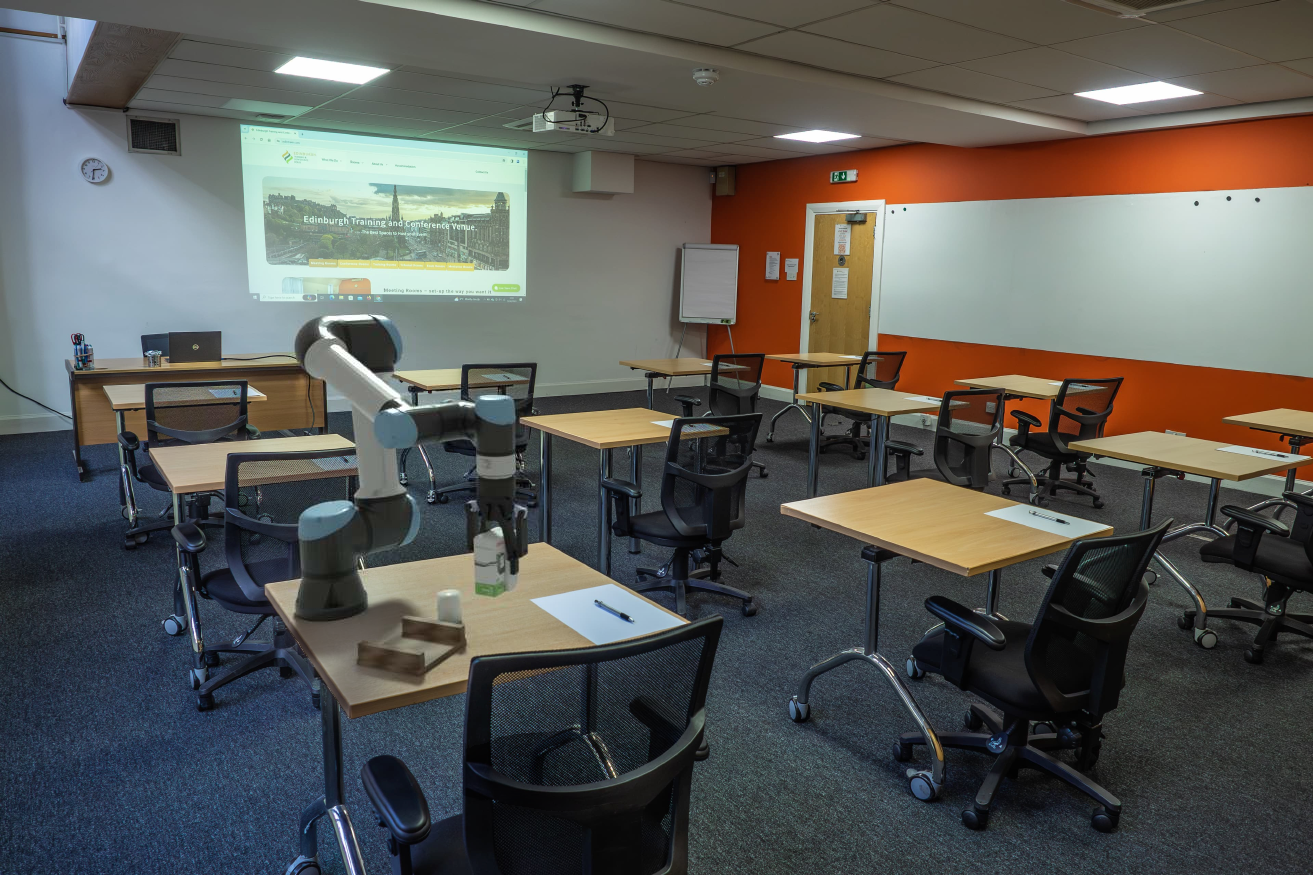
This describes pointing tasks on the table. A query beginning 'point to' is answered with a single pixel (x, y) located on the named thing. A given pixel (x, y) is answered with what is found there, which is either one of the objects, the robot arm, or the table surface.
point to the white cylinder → (449, 606)
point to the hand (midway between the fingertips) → (497, 586)
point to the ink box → (490, 563)
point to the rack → (413, 646)
